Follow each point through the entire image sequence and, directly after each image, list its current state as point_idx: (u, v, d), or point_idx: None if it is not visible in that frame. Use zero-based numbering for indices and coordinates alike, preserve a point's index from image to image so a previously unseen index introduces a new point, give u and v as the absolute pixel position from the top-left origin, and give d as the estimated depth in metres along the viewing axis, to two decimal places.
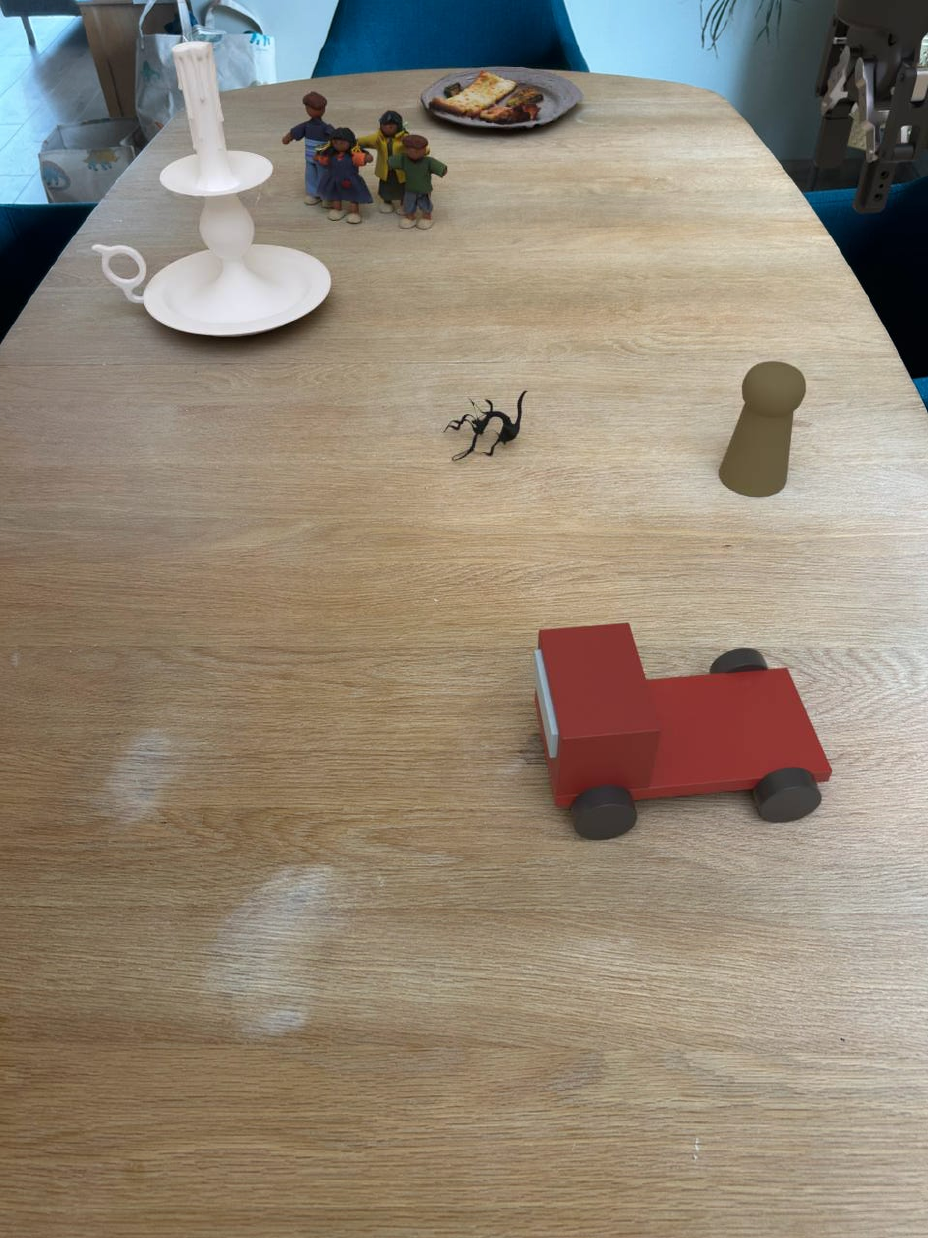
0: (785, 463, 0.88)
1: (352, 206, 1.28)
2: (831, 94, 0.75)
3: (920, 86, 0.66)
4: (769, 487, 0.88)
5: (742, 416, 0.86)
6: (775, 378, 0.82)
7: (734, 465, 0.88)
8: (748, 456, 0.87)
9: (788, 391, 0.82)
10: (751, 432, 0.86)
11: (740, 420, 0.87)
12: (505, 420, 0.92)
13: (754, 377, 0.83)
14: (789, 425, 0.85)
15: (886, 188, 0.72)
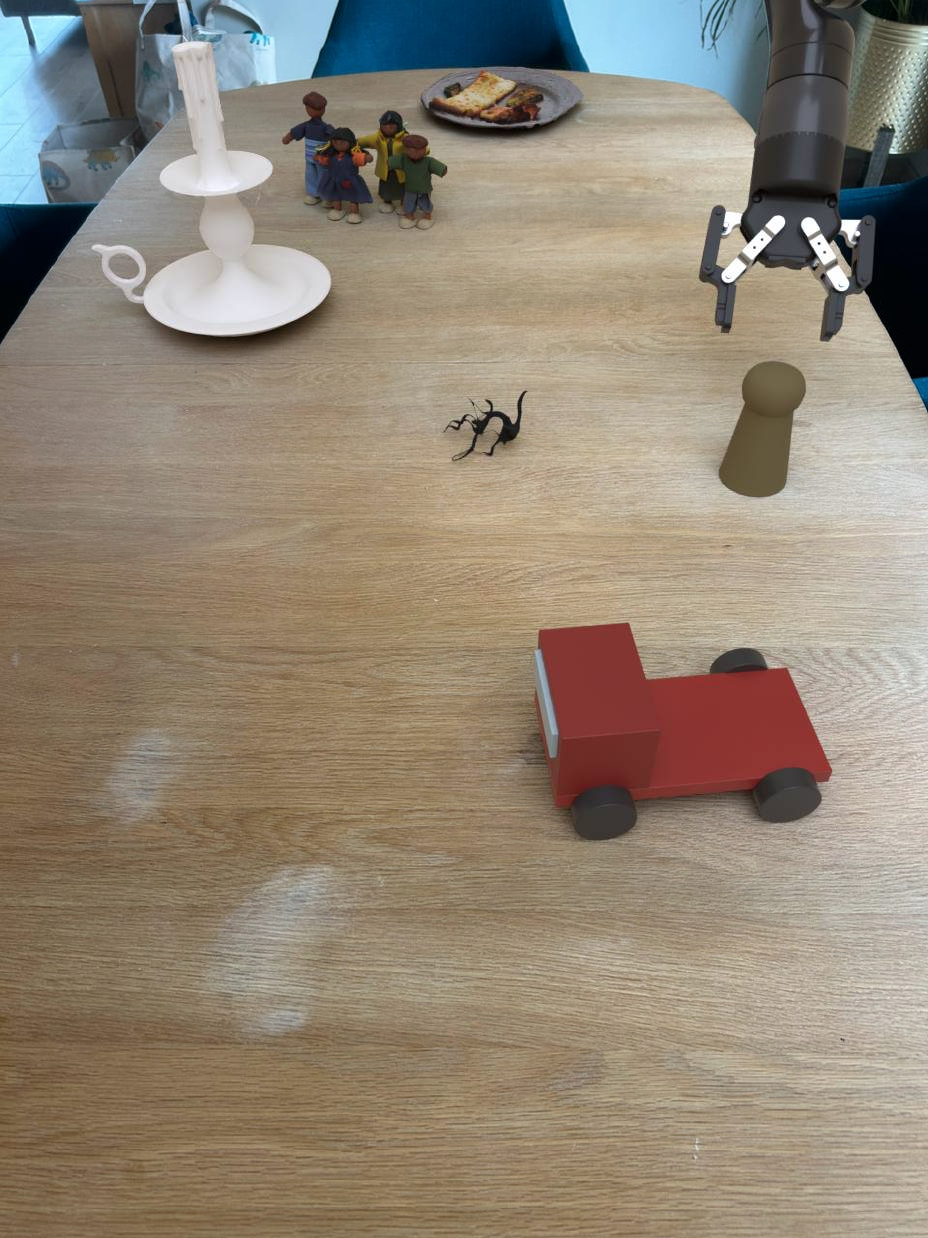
0: (785, 463, 0.88)
1: (352, 206, 1.28)
2: (815, 276, 0.88)
3: (709, 221, 0.88)
4: (769, 487, 0.88)
5: (742, 416, 0.86)
6: (775, 378, 0.82)
7: (734, 465, 0.88)
8: (748, 456, 0.87)
9: (788, 391, 0.82)
10: (751, 432, 0.86)
11: (740, 420, 0.87)
12: (505, 420, 0.92)
13: (754, 377, 0.83)
14: (789, 425, 0.85)
15: (717, 304, 0.87)
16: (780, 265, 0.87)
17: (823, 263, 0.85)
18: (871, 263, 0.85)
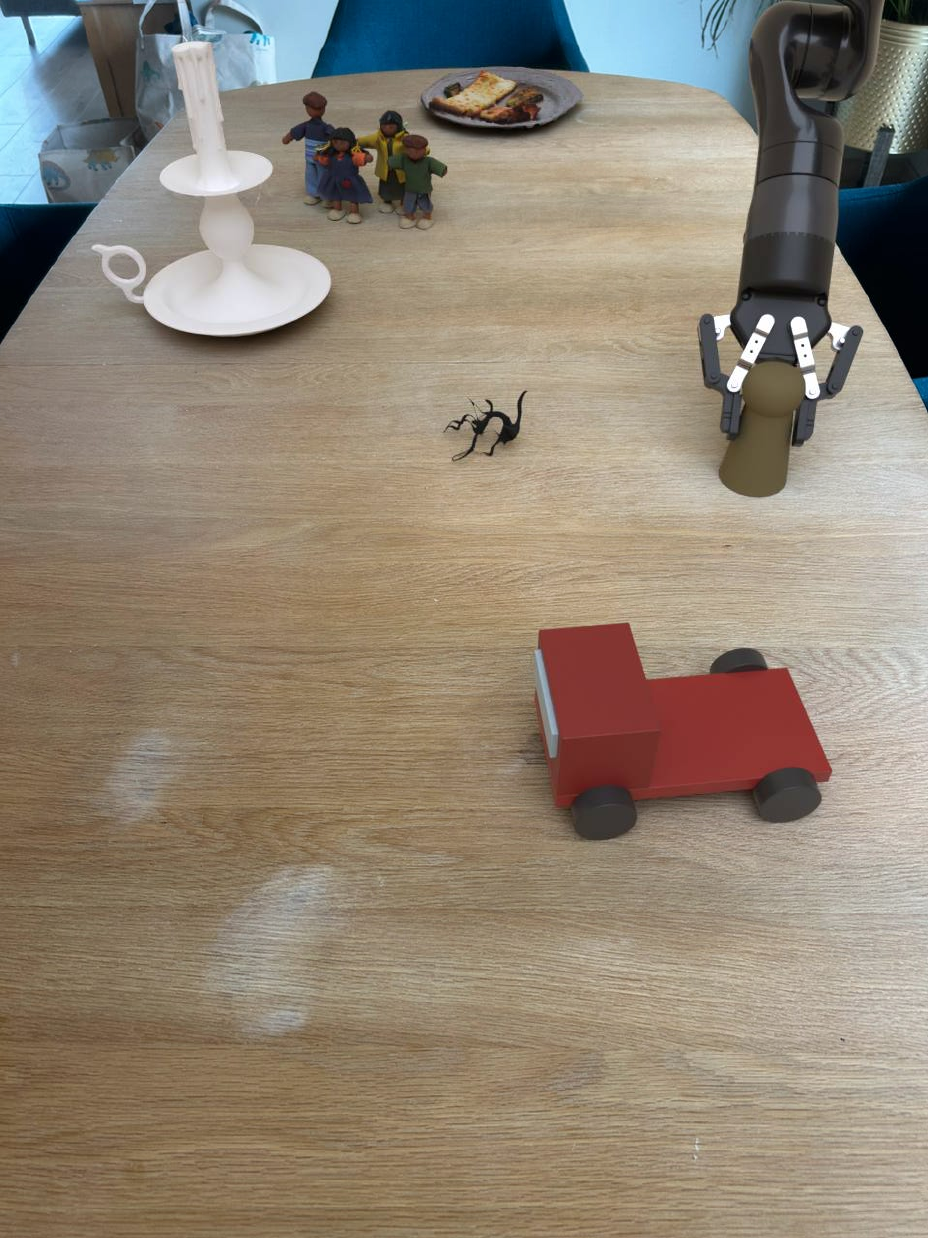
0: (785, 463, 0.88)
1: (352, 206, 1.28)
2: None
3: (699, 331, 0.87)
4: (769, 487, 0.88)
5: (742, 416, 0.86)
6: (775, 378, 0.82)
7: (734, 466, 0.88)
8: (748, 456, 0.87)
9: (788, 391, 0.82)
10: (751, 432, 0.86)
11: (740, 420, 0.87)
12: (505, 420, 0.92)
13: (754, 377, 0.83)
14: (789, 425, 0.85)
15: (722, 413, 0.86)
16: (769, 361, 0.86)
17: (800, 366, 0.84)
18: (846, 373, 0.84)
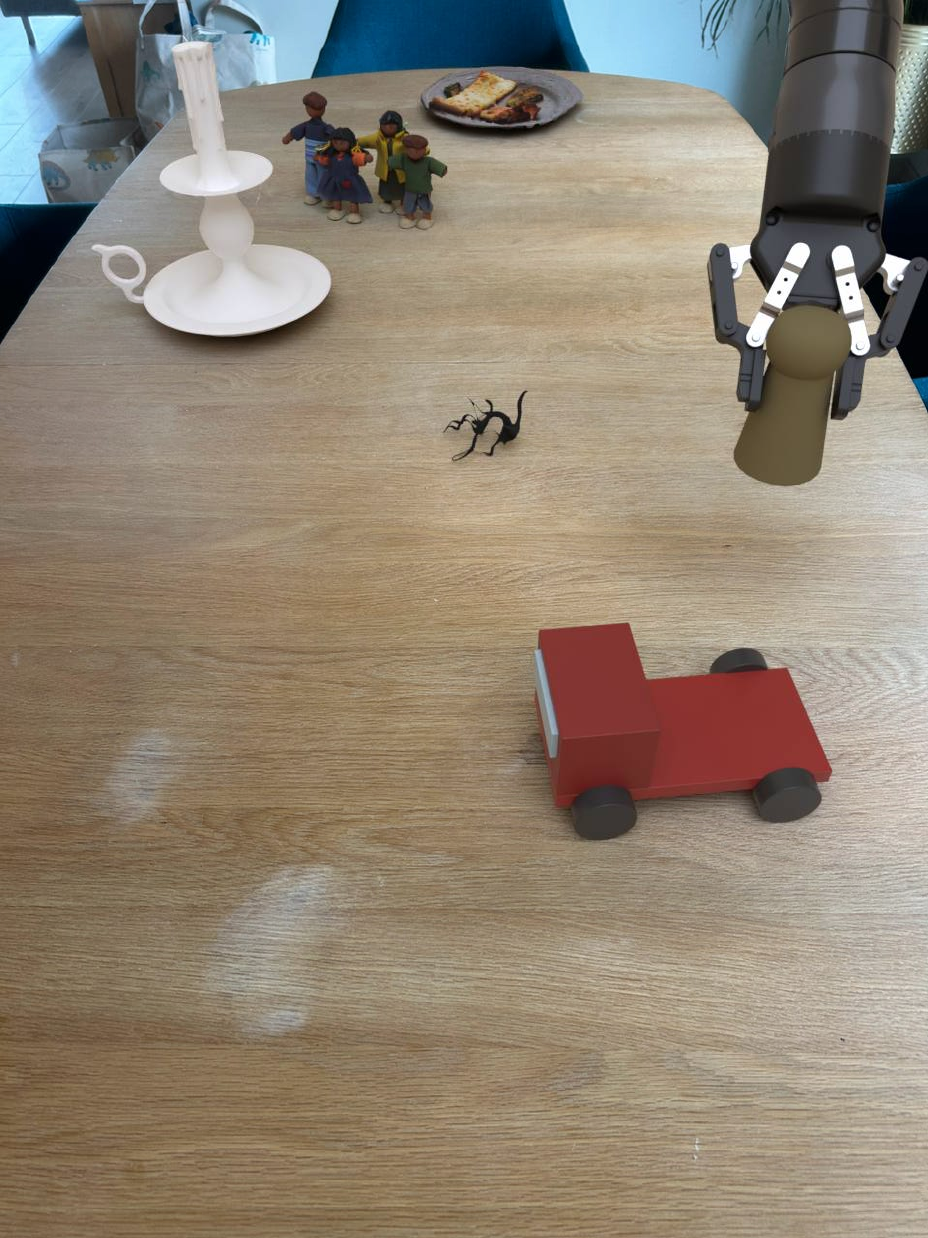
0: (821, 442, 0.67)
1: (352, 206, 1.28)
2: None
3: (709, 267, 0.66)
4: (799, 473, 0.68)
5: (766, 379, 0.65)
6: (811, 327, 0.62)
7: (754, 445, 0.68)
8: (773, 433, 0.66)
9: (829, 344, 0.61)
10: (778, 400, 0.65)
11: (763, 385, 0.66)
12: (505, 420, 0.92)
13: (784, 325, 0.62)
14: (828, 390, 0.64)
15: (740, 375, 0.65)
16: None
17: (844, 311, 0.63)
18: (905, 321, 0.63)
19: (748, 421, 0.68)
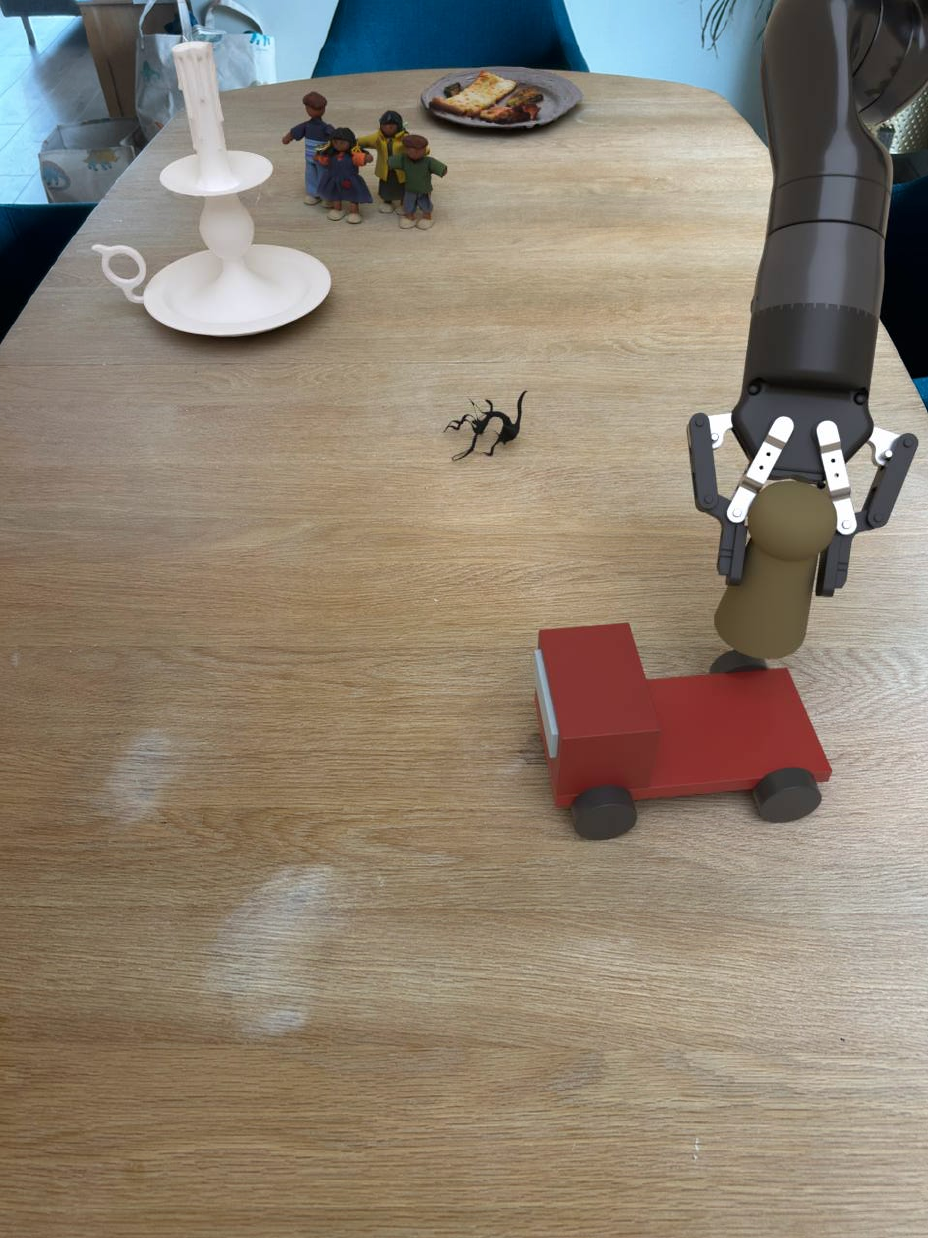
0: (805, 615, 0.64)
1: (352, 206, 1.28)
2: None
3: (688, 434, 0.63)
4: (783, 647, 0.64)
5: (747, 554, 0.62)
6: (795, 510, 0.58)
7: (735, 617, 0.64)
8: (755, 608, 0.63)
9: (814, 530, 0.58)
10: (760, 578, 0.62)
11: (744, 558, 0.63)
12: (505, 420, 0.92)
13: (766, 507, 0.59)
14: (813, 569, 0.61)
15: (720, 550, 0.62)
16: (786, 478, 0.62)
17: (830, 489, 0.60)
18: (894, 500, 0.60)
19: (729, 591, 0.65)
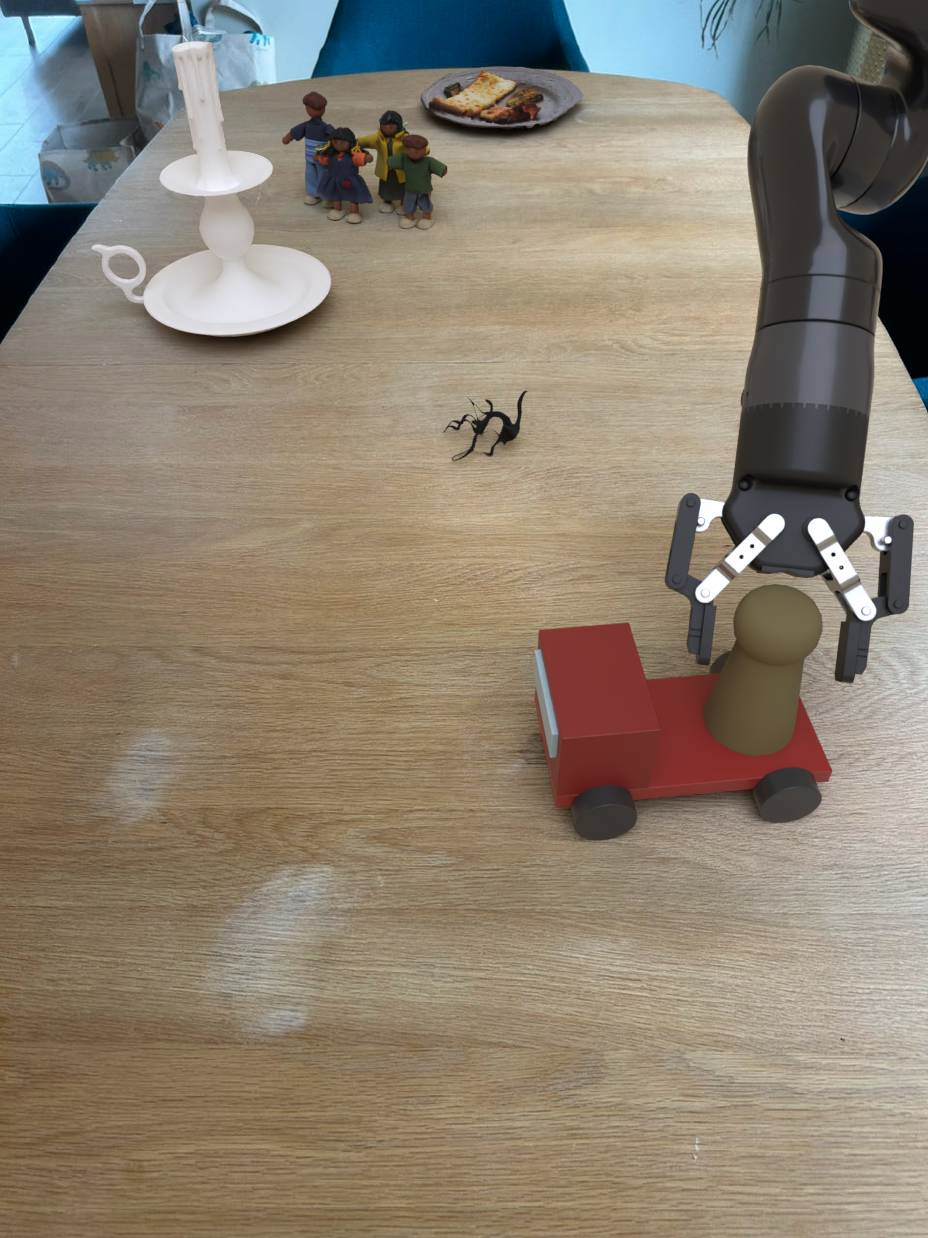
0: (793, 713, 0.64)
1: (352, 206, 1.28)
2: (827, 585, 0.63)
3: (677, 510, 0.62)
4: (771, 744, 0.65)
5: (734, 656, 0.63)
6: (780, 618, 0.59)
7: (724, 715, 0.65)
8: (743, 708, 0.63)
9: (799, 638, 0.58)
10: (747, 680, 0.62)
11: (731, 660, 0.63)
12: (505, 420, 0.92)
13: (751, 614, 0.59)
14: (799, 671, 0.62)
15: (689, 629, 0.62)
16: (777, 572, 0.62)
17: (839, 583, 0.59)
18: (908, 583, 0.59)
19: (717, 689, 0.65)
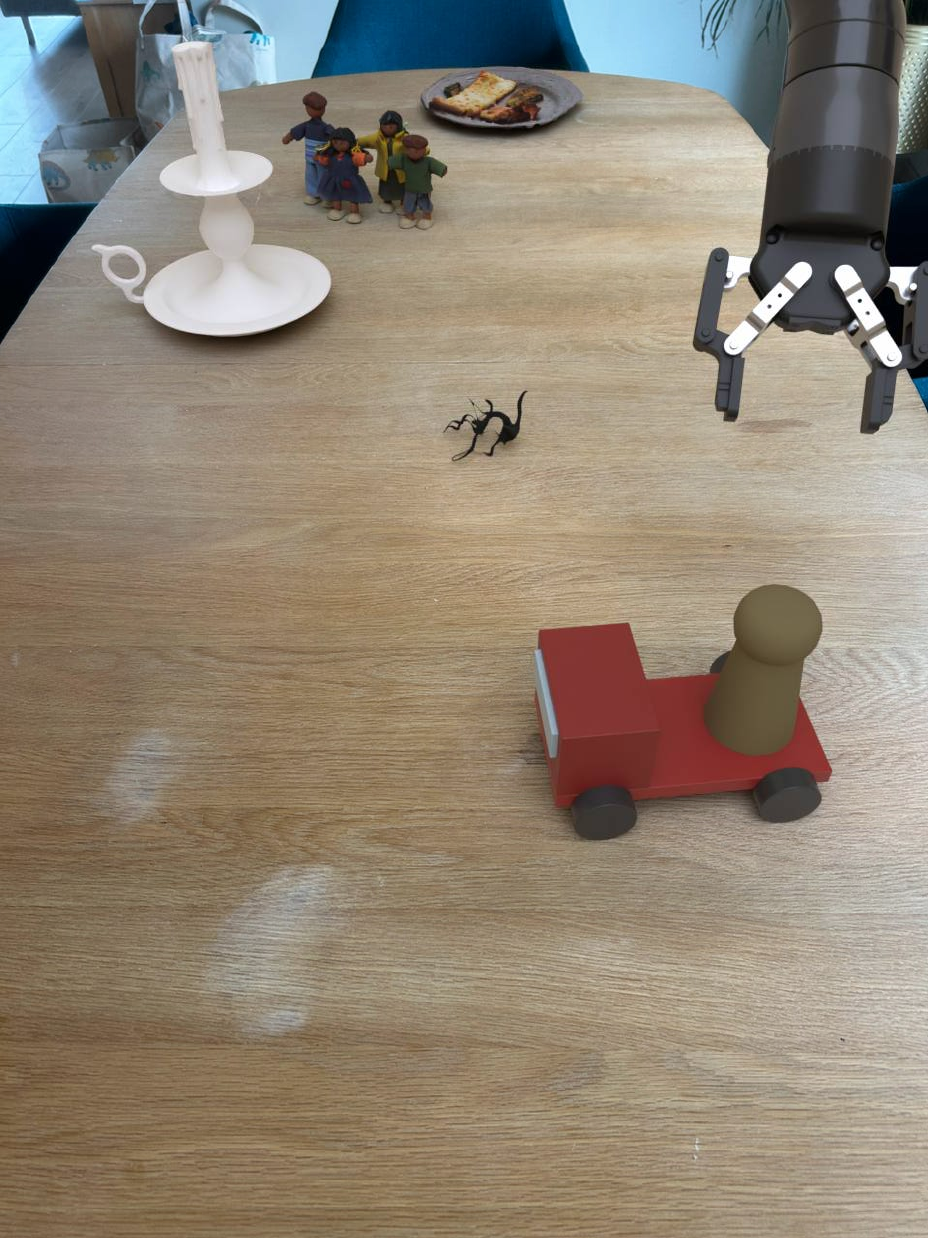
0: (793, 713, 0.64)
1: (352, 206, 1.28)
2: (852, 343, 0.64)
3: (706, 269, 0.64)
4: (771, 744, 0.65)
5: (734, 656, 0.63)
6: (780, 618, 0.59)
7: (724, 715, 0.65)
8: (743, 708, 0.63)
9: (799, 638, 0.58)
10: (747, 680, 0.62)
11: (731, 660, 0.63)
12: (505, 420, 0.92)
13: (751, 614, 0.59)
14: (799, 671, 0.62)
15: (718, 384, 0.63)
16: (804, 328, 0.63)
17: (866, 328, 0.61)
18: None
19: (717, 689, 0.65)
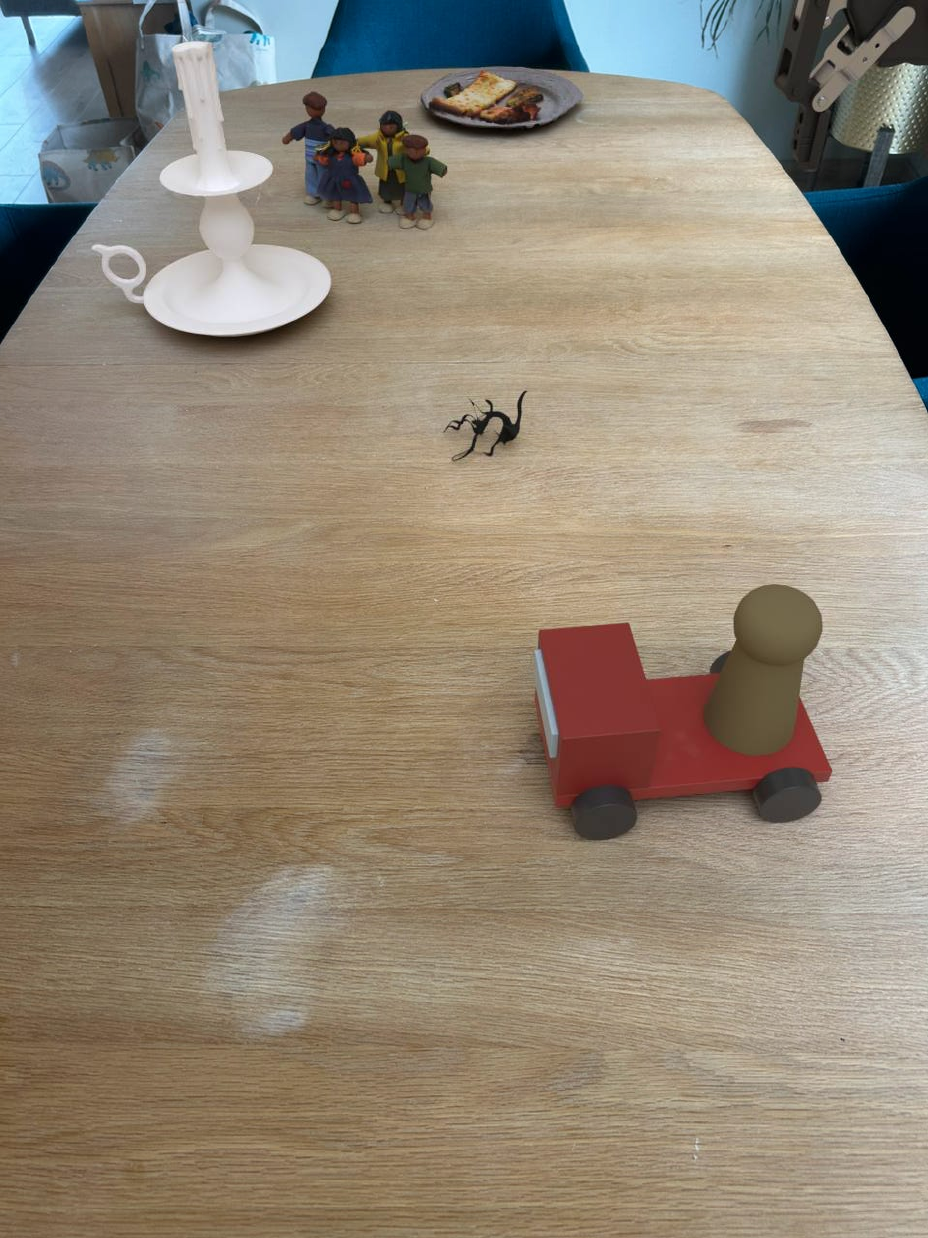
0: (793, 713, 0.64)
1: (352, 206, 1.28)
2: None
3: (799, 4, 0.58)
4: (771, 744, 0.65)
5: (734, 656, 0.63)
6: (780, 618, 0.59)
7: (724, 715, 0.65)
8: (743, 708, 0.63)
9: (799, 638, 0.58)
10: (747, 680, 0.62)
11: (731, 660, 0.63)
12: (505, 420, 0.92)
13: (751, 614, 0.59)
14: (799, 671, 0.62)
15: (799, 136, 0.63)
16: None
17: None
18: None
19: (717, 689, 0.65)
